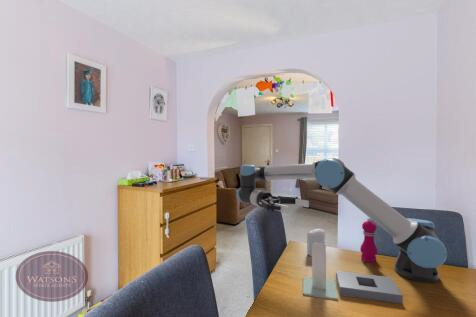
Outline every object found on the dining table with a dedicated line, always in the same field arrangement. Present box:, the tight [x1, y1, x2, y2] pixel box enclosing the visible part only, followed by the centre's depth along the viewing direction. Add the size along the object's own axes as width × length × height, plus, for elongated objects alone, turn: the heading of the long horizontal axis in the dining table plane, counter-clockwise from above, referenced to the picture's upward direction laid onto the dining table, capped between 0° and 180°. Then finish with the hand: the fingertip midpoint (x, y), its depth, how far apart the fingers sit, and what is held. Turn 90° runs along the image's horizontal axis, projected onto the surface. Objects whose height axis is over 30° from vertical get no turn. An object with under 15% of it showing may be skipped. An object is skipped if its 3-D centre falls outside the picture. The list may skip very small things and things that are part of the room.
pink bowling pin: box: [359, 217, 378, 263], centre depth 116 cm, size 7×7×20 cm
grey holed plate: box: [335, 270, 404, 305], centre depth 92 cm, size 20×12×3 cm, turn 74°
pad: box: [302, 276, 339, 301], centre depth 93 cm, size 12×12×1 cm
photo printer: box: [306, 228, 326, 257], centre depth 124 cm, size 10×4×12 cm, turn 123°
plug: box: [311, 243, 327, 290], centre depth 93 cm, size 5×5×16 cm
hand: (298, 206), depth 99 cm, fingers open, 13 cm apart
